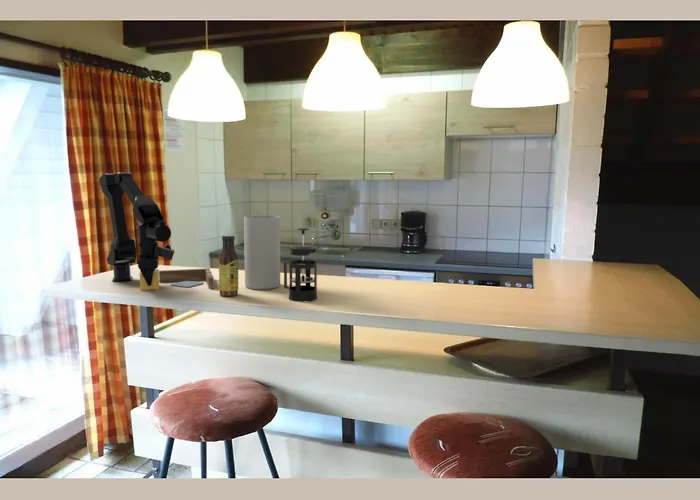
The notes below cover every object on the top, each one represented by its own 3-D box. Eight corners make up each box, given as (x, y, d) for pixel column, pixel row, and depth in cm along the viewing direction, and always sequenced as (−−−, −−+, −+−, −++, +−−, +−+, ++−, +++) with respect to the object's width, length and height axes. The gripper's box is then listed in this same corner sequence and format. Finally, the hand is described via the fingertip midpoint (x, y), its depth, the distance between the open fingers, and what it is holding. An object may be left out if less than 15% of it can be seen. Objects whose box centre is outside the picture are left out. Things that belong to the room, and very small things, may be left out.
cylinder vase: (274, 281, 193) (273, 215, 189) (284, 288, 182) (284, 217, 178) (241, 284, 188) (240, 215, 184) (250, 291, 176) (249, 218, 173)
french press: (323, 296, 171) (323, 227, 167) (313, 303, 162) (313, 230, 159) (290, 293, 174) (290, 225, 171) (279, 299, 165) (278, 228, 162)
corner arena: (159, 281, 191) (159, 270, 190) (209, 278, 197) (209, 268, 196) (158, 291, 174) (158, 280, 173) (213, 288, 180) (213, 277, 179)
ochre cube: (141, 286, 181) (140, 270, 180) (159, 285, 183) (158, 269, 182) (140, 290, 176) (139, 273, 175) (159, 289, 178) (158, 272, 177)
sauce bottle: (233, 297, 167) (232, 237, 164) (215, 296, 168) (214, 236, 165) (241, 293, 174) (240, 234, 171) (224, 292, 175) (223, 234, 172)
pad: (170, 285, 184) (170, 284, 183) (186, 281, 191) (186, 280, 191) (187, 288, 180) (187, 286, 180) (203, 283, 187) (203, 282, 187)
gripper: (173, 242, 171) (174, 287, 173) (172, 235, 188) (173, 277, 191) (136, 243, 167) (138, 289, 169) (139, 236, 185) (141, 278, 187)
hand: (149, 283), depth 179 cm, fingers closed on ochre cube, 6 cm apart
